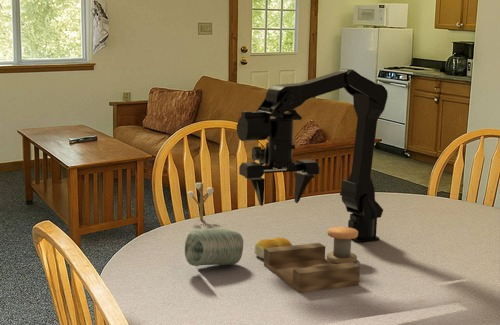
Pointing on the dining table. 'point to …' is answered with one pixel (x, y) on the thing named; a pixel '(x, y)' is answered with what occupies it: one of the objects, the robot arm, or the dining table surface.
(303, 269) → the notch board
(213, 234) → the spool
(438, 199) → the dining table surface
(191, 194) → the cotton branch
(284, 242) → the bread roll
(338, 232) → the orange capped knob
